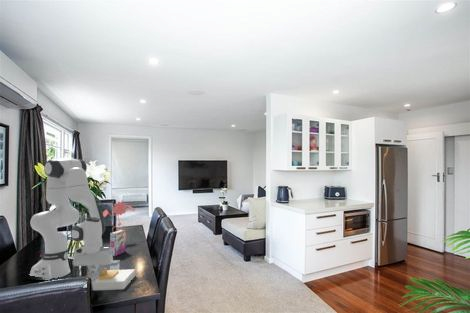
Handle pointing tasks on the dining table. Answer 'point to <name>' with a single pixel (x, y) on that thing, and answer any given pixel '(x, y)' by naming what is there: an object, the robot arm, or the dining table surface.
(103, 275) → the shutter
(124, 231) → the candy bar box
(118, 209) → the pink flowers
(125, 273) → the socket plate
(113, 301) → the dining table surface
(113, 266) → the plug
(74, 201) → the robot arm
